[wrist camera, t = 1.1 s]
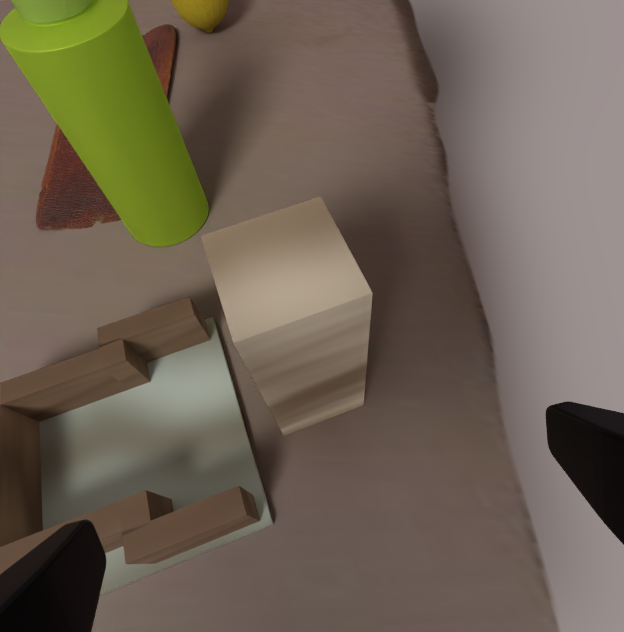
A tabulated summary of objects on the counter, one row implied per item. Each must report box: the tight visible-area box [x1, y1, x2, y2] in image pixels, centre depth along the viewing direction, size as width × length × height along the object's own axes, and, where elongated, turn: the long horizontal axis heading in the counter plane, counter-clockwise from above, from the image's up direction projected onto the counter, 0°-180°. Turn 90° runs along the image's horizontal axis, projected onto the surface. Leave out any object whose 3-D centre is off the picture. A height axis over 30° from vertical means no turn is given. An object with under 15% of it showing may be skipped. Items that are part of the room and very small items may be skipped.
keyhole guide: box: [0, 297, 274, 595], centre depth 21 cm, size 12×12×3 cm
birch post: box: [201, 197, 373, 436], centre depth 19 cm, size 4×4×11 cm
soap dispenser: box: [0, 0, 209, 247], centre depth 22 cm, size 6×7×20 cm
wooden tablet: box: [36, 24, 177, 230], centre depth 37 cm, size 27×10×2 cm, turn 4°
